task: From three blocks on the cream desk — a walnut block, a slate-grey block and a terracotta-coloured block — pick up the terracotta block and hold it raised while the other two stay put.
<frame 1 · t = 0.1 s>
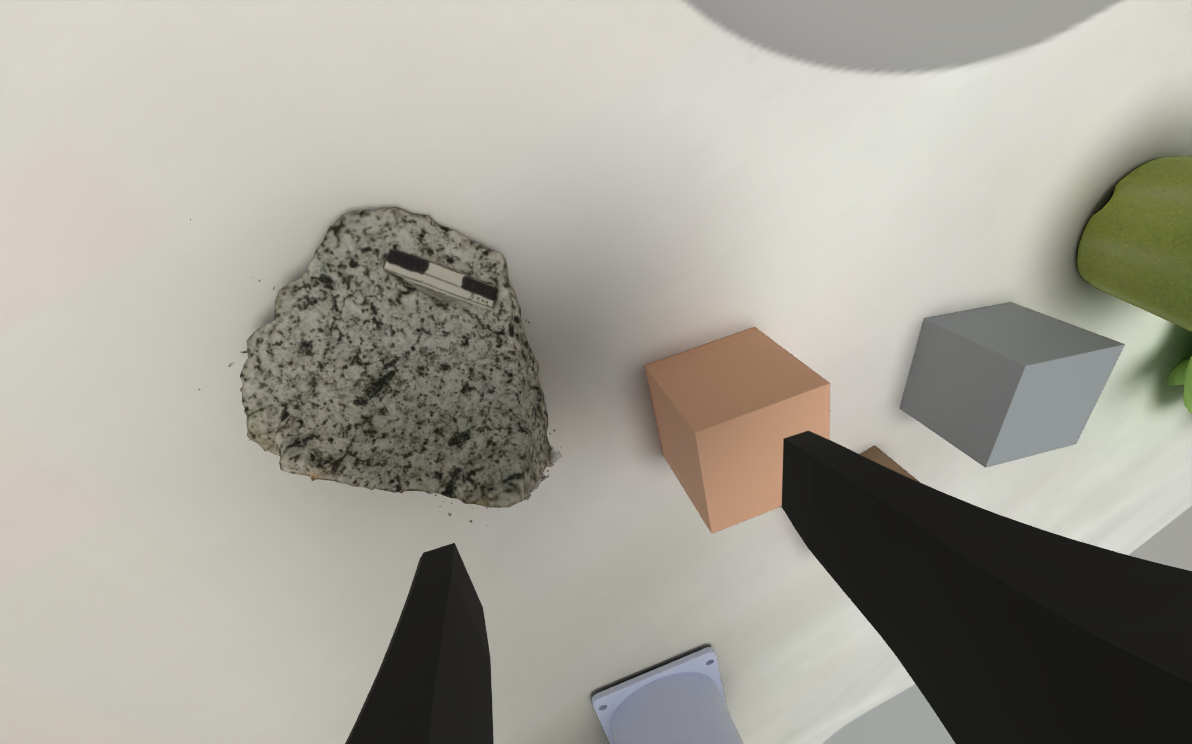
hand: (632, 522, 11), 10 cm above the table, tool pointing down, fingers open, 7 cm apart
plant pot: (1123, 224, 25), on the table
grey block: (952, 355, 26), on the table
walnut block: (842, 496, 29), on the table
terracotta block: (706, 393, 23), on the table
rock sample: (395, 329, 18), on the table
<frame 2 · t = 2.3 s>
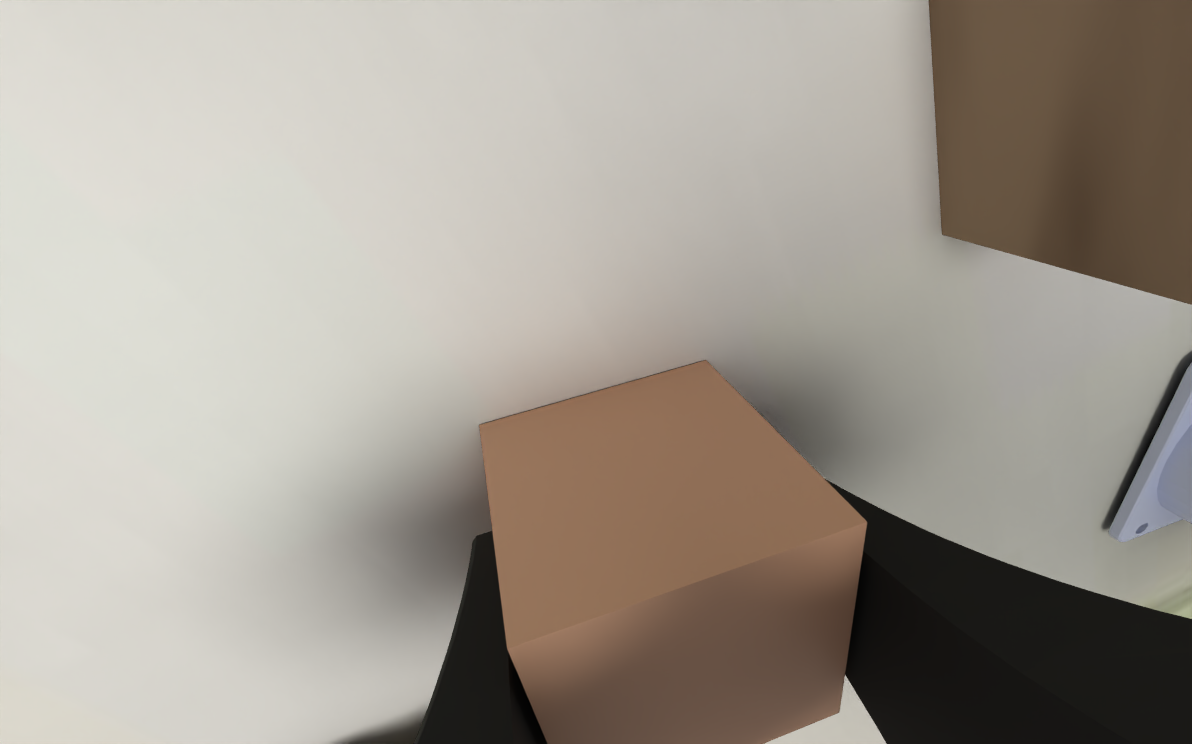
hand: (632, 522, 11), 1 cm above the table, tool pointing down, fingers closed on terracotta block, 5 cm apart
walnut block: (1043, 60, 10), on the table
terracotta block: (613, 479, 12), on the table, touching gripper
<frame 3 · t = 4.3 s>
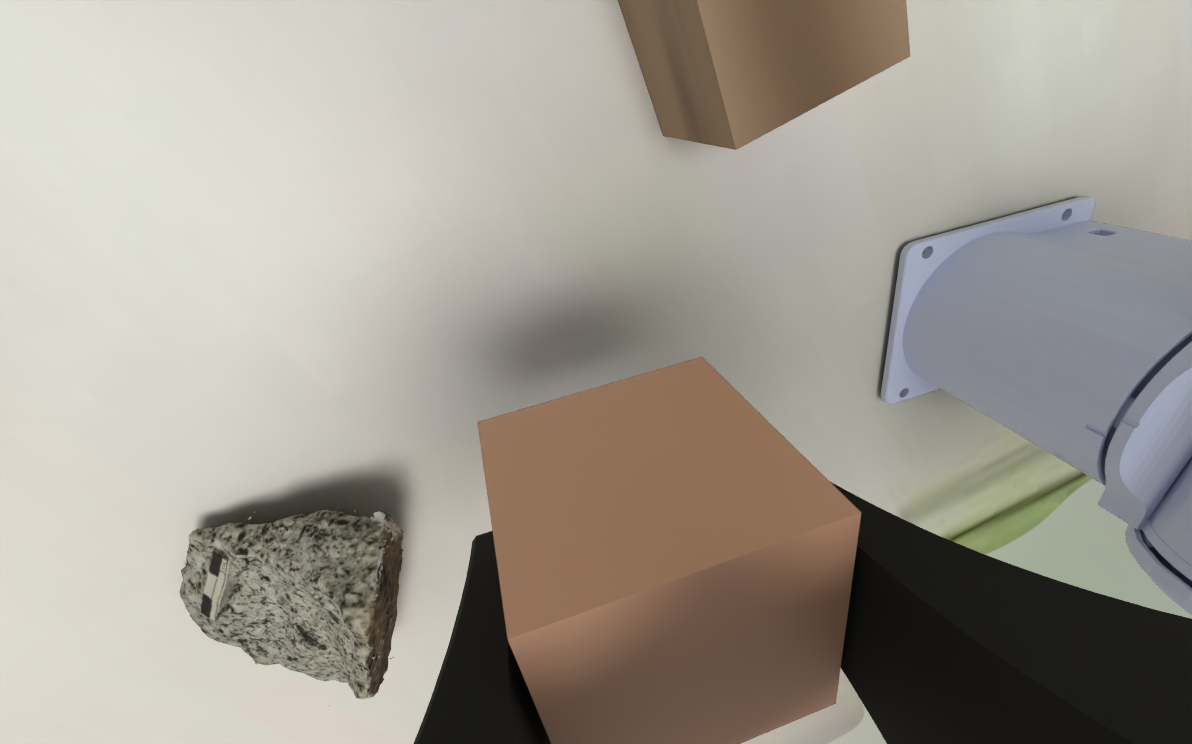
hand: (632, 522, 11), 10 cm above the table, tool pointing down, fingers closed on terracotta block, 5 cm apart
walnut block: (706, 16, 16), on the table
terracotta block: (610, 476, 12), point 8 cm above the table, touching gripper
rock sample: (312, 564, 22), on the table
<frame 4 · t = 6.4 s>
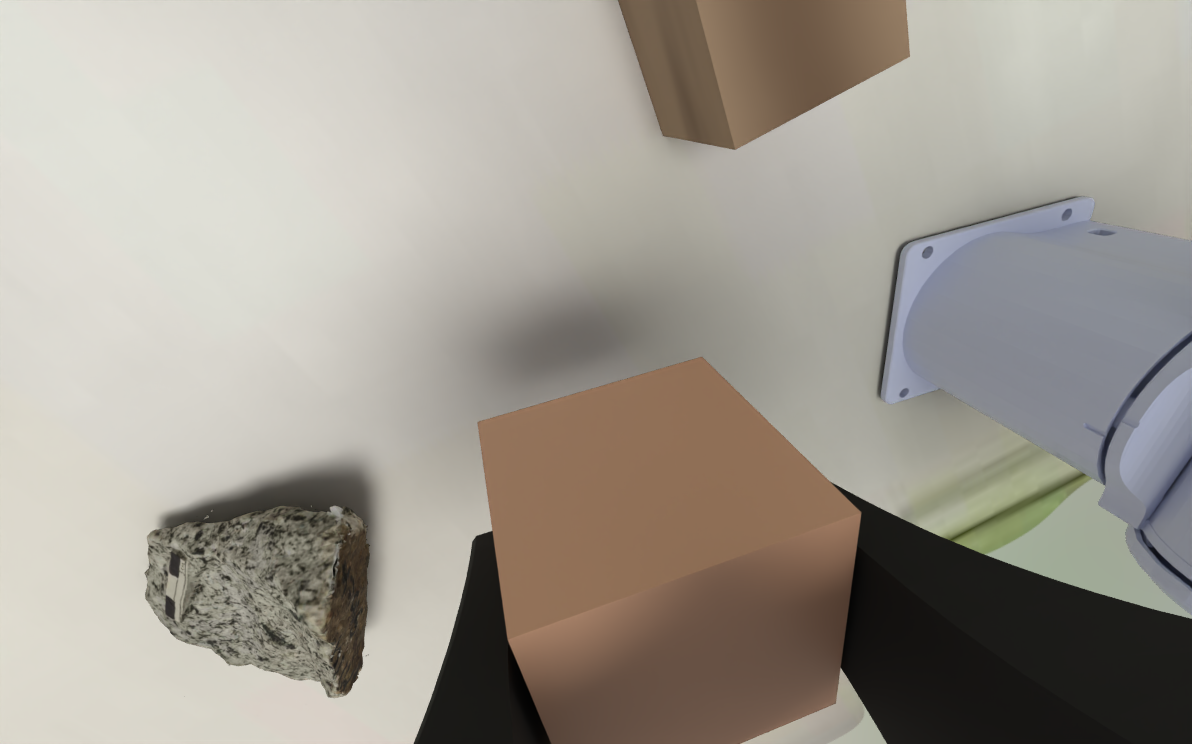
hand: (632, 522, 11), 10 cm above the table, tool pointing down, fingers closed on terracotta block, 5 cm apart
walnut block: (706, 16, 16), on the table
terracotta block: (610, 476, 12), point 8 cm above the table, touching gripper
rock sample: (282, 563, 21), on the table
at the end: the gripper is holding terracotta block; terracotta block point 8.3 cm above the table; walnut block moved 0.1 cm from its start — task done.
